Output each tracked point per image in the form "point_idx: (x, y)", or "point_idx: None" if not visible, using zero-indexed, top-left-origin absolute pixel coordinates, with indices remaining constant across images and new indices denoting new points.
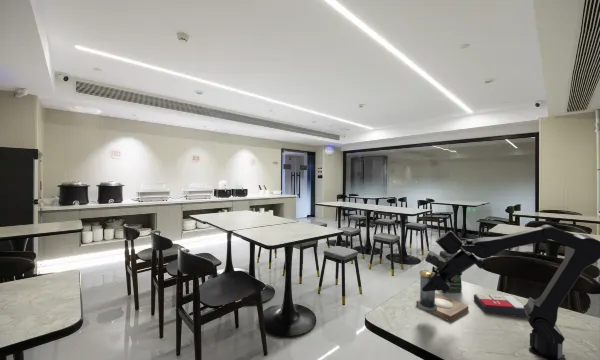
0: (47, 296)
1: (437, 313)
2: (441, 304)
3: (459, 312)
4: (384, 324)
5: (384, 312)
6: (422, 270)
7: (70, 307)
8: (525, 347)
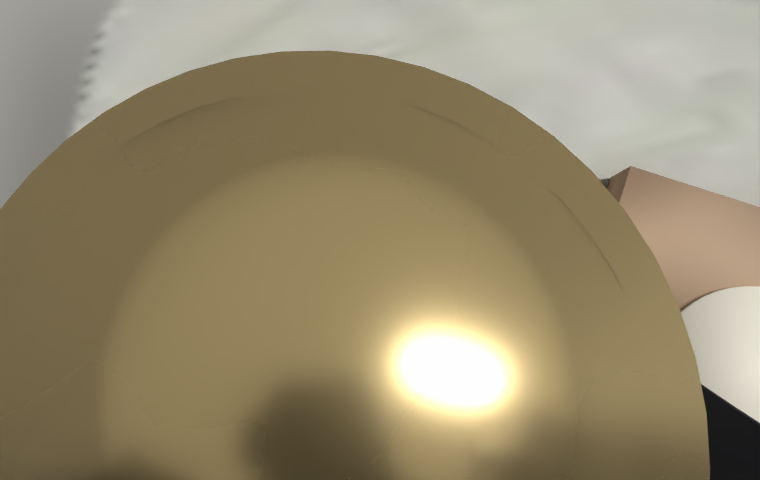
0: None
1: None
2: (717, 392)
3: None
4: (146, 67)
5: (311, 6)
6: (501, 127)
7: None
8: None
